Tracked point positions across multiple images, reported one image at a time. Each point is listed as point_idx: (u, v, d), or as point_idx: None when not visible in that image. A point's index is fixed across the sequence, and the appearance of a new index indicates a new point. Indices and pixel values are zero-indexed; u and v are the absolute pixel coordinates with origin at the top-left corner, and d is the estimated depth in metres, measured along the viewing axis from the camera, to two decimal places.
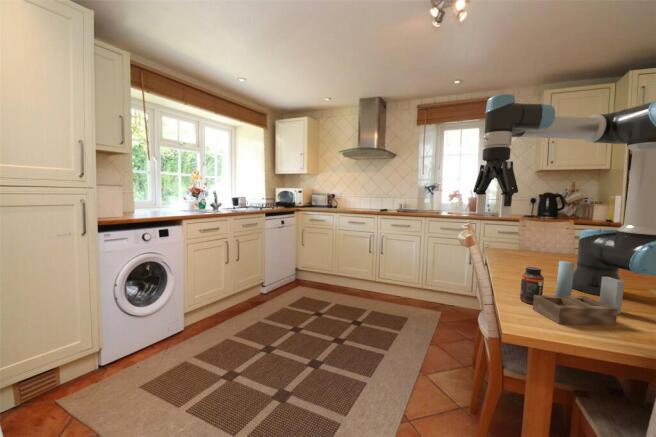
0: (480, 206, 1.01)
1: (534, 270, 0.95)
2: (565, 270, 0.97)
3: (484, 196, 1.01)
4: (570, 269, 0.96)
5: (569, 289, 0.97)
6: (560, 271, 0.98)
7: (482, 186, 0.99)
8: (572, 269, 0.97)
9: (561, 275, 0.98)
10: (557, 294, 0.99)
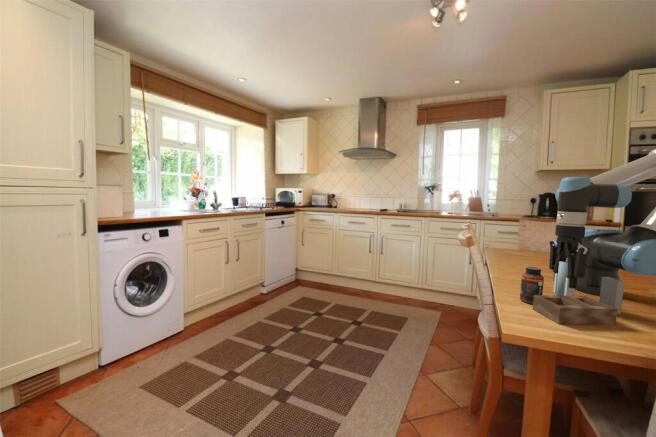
0: None
1: (534, 270, 0.95)
2: (565, 270, 0.97)
3: None
4: None
5: None
6: (560, 271, 0.98)
7: None
8: None
9: (562, 274, 0.98)
10: (557, 293, 0.99)
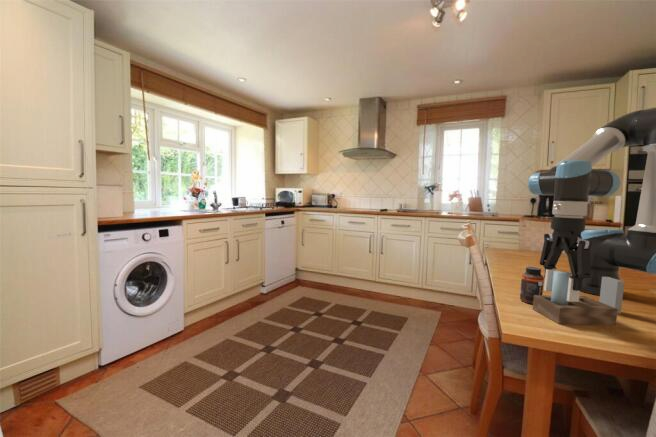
0: (549, 282, 0.89)
1: (534, 270, 0.95)
2: (561, 281, 0.84)
3: None
4: (566, 280, 0.83)
5: (565, 303, 0.84)
6: (555, 283, 0.85)
7: (552, 259, 0.88)
8: None
9: (556, 286, 0.85)
10: None
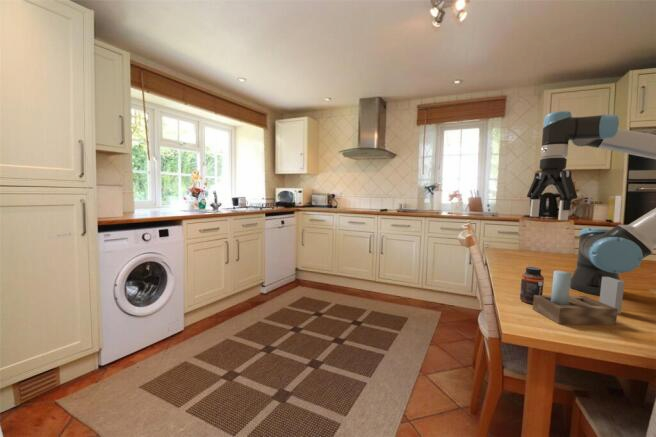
0: (534, 209, 1.13)
1: (534, 270, 0.95)
2: (561, 281, 0.84)
3: (538, 201, 1.13)
4: (566, 280, 0.83)
5: (565, 303, 0.84)
6: (555, 283, 0.85)
7: (537, 192, 1.11)
8: (569, 280, 0.83)
9: (556, 286, 0.85)
10: None
